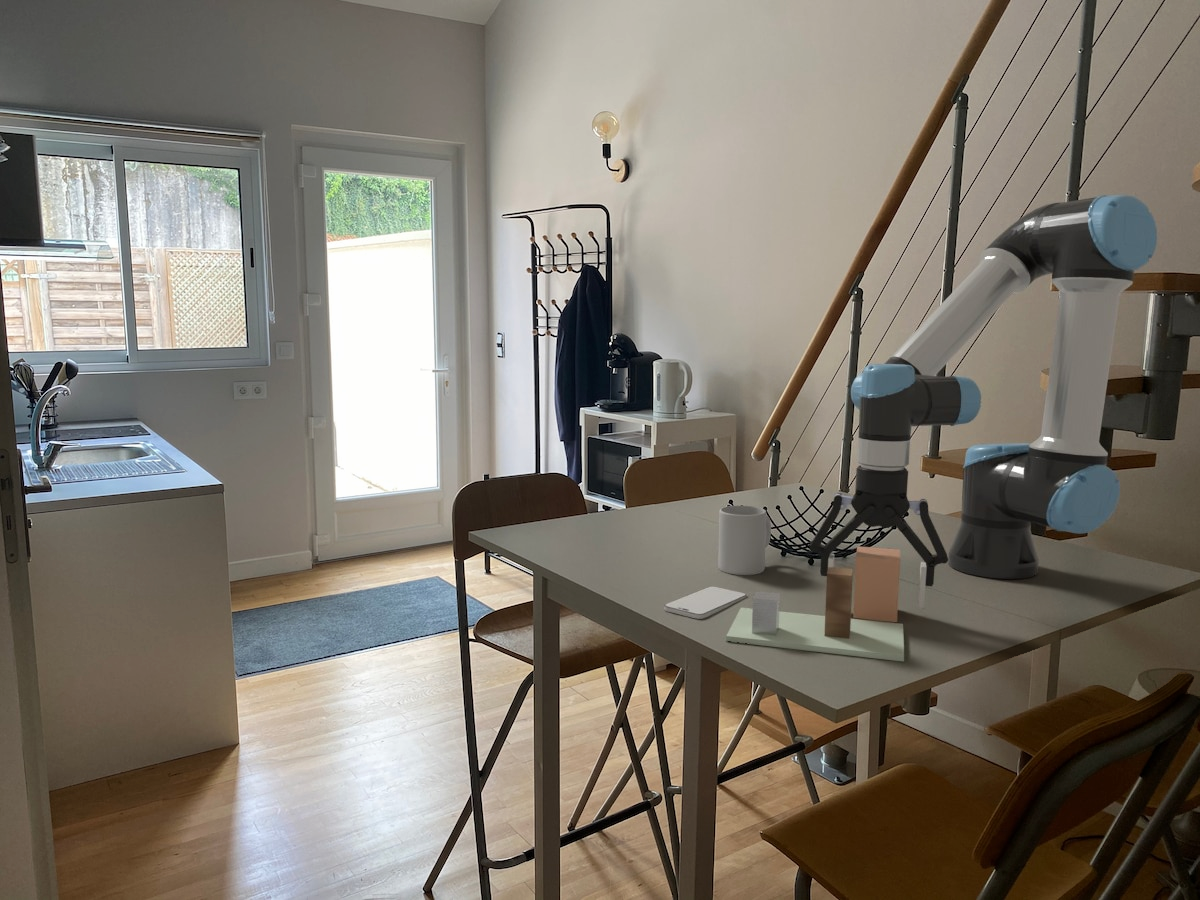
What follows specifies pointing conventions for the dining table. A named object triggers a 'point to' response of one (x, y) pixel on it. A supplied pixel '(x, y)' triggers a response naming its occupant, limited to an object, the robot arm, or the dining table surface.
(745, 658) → the dining table surface
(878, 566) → the peach rectangular block
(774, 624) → the grey post
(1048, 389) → the robot arm
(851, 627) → the board
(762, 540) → the mug
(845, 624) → the walnut post
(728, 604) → the smartphone
